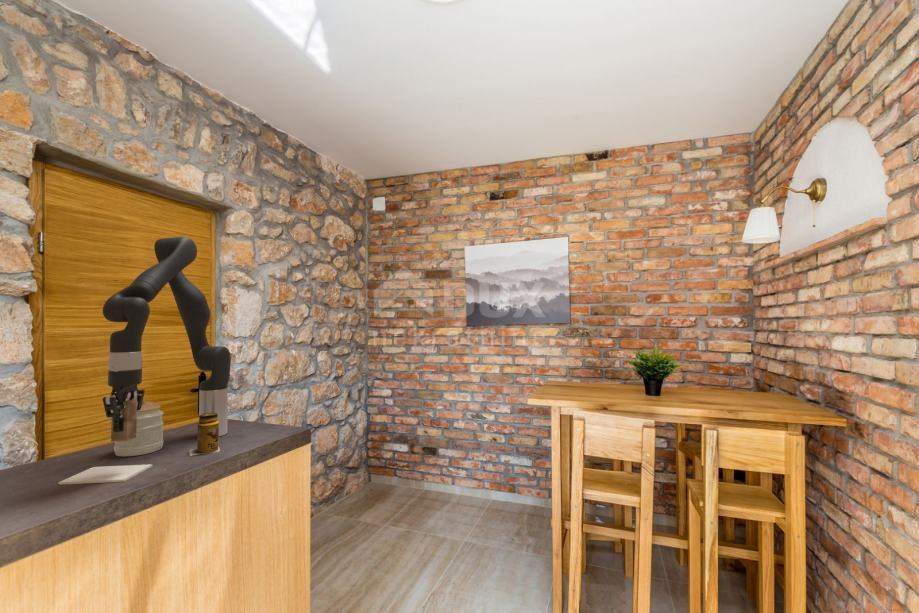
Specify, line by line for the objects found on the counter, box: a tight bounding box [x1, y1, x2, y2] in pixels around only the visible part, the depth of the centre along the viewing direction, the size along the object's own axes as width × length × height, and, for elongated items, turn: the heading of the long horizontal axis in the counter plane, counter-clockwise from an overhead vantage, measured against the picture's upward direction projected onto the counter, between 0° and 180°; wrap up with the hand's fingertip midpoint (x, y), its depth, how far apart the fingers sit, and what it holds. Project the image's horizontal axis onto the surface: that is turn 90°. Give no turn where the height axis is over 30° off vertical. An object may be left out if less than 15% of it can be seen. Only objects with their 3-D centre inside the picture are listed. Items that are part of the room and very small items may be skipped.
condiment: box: [189, 413, 221, 457], centre depth 139 cm, size 7×8×12 cm
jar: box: [113, 397, 165, 457], centre depth 140 cm, size 13×13×18 cm
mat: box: [58, 464, 153, 485], centre depth 117 cm, size 12×16×1 cm
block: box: [110, 397, 138, 443], centre depth 118 cm, size 4×4×11 cm
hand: (124, 429), depth 118 cm, fingers closed on block, 4 cm apart
